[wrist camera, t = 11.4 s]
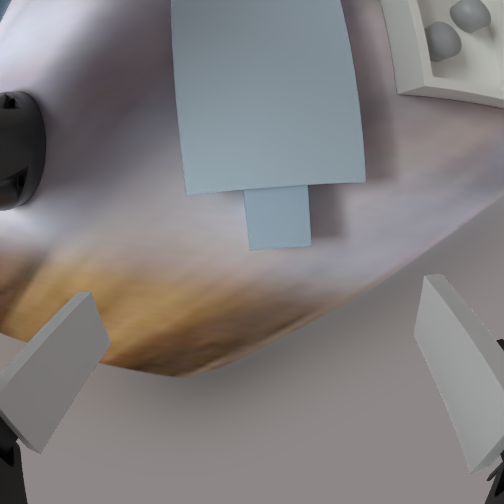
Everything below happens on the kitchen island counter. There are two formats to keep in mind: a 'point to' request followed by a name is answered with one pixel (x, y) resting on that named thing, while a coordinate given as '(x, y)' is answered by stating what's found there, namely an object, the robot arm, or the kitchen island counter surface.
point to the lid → (266, 107)
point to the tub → (448, 48)
